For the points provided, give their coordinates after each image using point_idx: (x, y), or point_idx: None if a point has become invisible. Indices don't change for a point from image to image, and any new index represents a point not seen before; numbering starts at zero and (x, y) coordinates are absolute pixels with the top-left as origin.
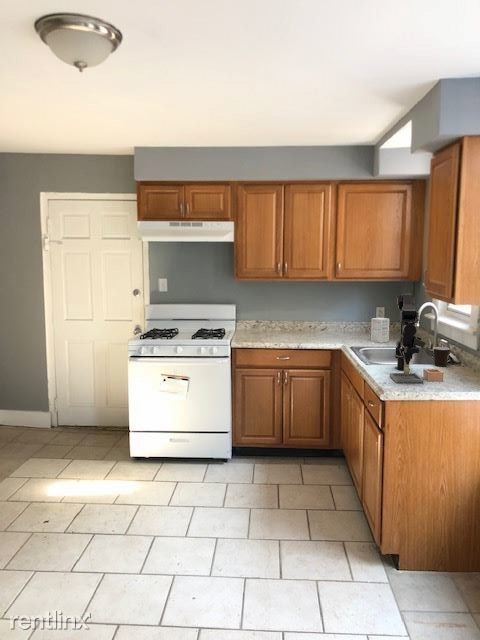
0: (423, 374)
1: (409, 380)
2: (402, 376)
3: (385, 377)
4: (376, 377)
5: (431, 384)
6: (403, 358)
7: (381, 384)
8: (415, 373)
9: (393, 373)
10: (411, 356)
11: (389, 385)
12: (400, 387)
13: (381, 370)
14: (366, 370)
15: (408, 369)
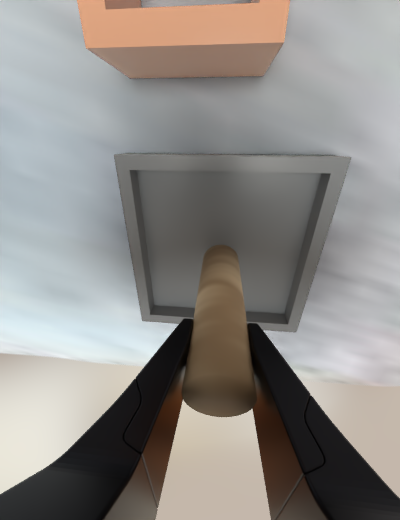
0: (124, 70)
1: (313, 263)
2: (166, 255)
3: (165, 324)
4: None
5: (378, 81)
6: (182, 400)
7: (295, 370)
8: (123, 156)
9: (148, 305)
10: (350, 444)
11: (320, 350)
12: (374, 320)
13: (17, 301)
14: (47, 354)
15: (240, 282)
